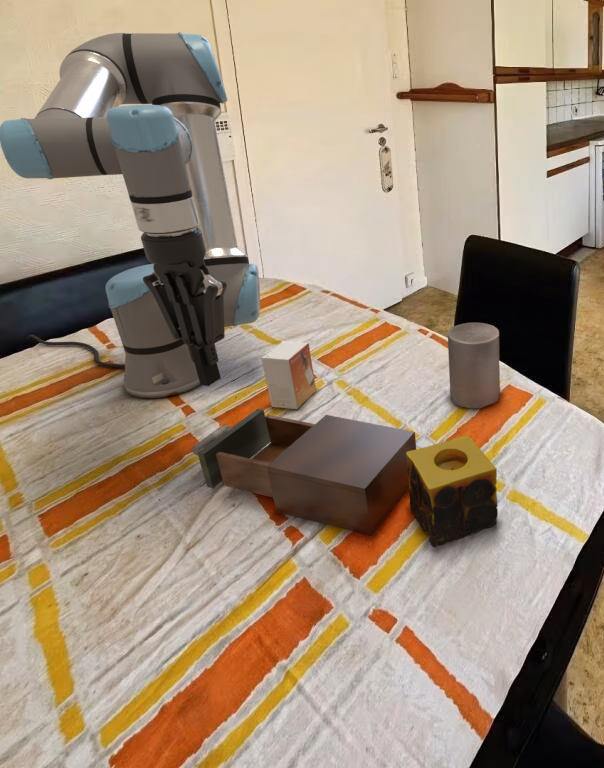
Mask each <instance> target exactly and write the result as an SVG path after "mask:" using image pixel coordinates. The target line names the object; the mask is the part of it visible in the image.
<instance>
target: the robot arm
mask: <svg viewBox="0 0 604 768" xmlns="http://www.w3.org/2000/svg"><path fill="white" fill-rule="evenodd" d="M225 88H226V87H225V85H224V82H223V78H222V76H221V72H220V69H219V66H218V63H217V60H216V56H215V55H214V51H213V48H212V46H211V44H210V42H209V40H208V39H207V38H206V37H205V36H203V35H201V34H198V33H197V34H195V33H182V32H176V33H170V32H169V33H162V32H161V33H159V32H158V33H156V32H155V33H154V32H153V33H152V32H151V33H150V32H149V33H145V32H143V33H141V32H139V33H137V32H136V33H134V32H133V33H125V32H113V33H108V34H103V35H99V36H97V37H95V38H92V39H90V40H88V41H85V42H83V43H81V44H80V45H78V46H77V47H75V48H74V49H72V50H71V51H70V52H69V53H68V54H67V55H66V56H65V57H64V58H63V60H62V62H61V64H60V66H59V81H57V84H56V86H54V88H53V90H52V92H51V93H50V94H49V96H48V97H47V98H46V100H45V102H44V103H43V105H42V106H41V108H40V109H39V111H38V112H37V114H36V115H35V117H34V118H26V117H21V118H17V119H7V120H4V121H3V122H1V124H0V147H1V151H2V153H3V155H4V159H5V160H6V162H7V164H8V166H9V167H10V169H11V170H12V171H13V173H15V174H16V175H17V176H19V177H21V178H24V179H47V180H54V179H65V178H66V179H68V178H82V177H96V176H115V175H117V176H118V175H122V177H123V180H124V184H125V187H126V190H127V193H128V197H129V201H130V203H131V208H132V212H133V214H134V215H133V216H134V218H135V222H136V227H137V229H138V230H139V232H142V234H141V236H140V241H141V244H142V247H143V250H144V254H145V257H146V260H147V261H148V262H149V263H150V264H143V265H139V266H136V267H132V268H128V269H126V270H124V271H122V272H119V273H117V274H115V275H114V276H112V277H110V279H109V280H108V281H107V282H106V284H105V293H106V297H107V300H108V301H107V302H108V304H107V305H108V308H109V309H110V311H111V314H112V317H113V321H114V324H115V326H116V330H117V332H118V335H119V338H120V341H121V344H122V348H123V350H124V363H109V362H103V361H101V360H99V356H100V355H99V351H98V349H96V348H95V347H93V346H92V345H90V344H88V343H85V342H81V341H47V340H44V339H42V338H40V337H38V336H36V335H35V334H29V335H28V336H27V337H26V341H31V340H35V341H36V342H38V343H40V344H42V345H45V346H79V347H84V348H86V349H88V350H90V351H92V352H93V361H94V362H95V363H96V364H97V365H99V366H102V367H107V368H113V369H114V368H115V369H124V375H123V382H124V387H125V390H126V392H127V393H128V394H129V395H131V396H132V397H136V398H140V399H160V398H161V399H162V398H168V397H172V396H177V395H180V394H183V393H186V392H188V391H191V390H193V389H195V388H197V387H199V386H205V387H209V386H211V385H213V384H214V383H216V382H217V381H219V380H221V379H222V377H221V374H220V370H219V365H218V362H219V356H218V352H217V348H216V344H217V343H218V342H220V341H222V340H224V339H225V337H226V336H225V331H226V330H225V328H227V327H228V328H229V327H238V326H243V325H249V324H253V323H255V322H257V321H258V319H259V318H260V314H261V285H260V275H259V268H258V265H257V264H254V263H250V260H249V255H248V254H246V253H245V252H244V251H242V250H241V249H240V248H239V246H238V240H237V235H236V229H235V225H234V224H235V223H234V219H233V213H232V208H231V202H230V197H229V196H230V195H229V191H228V186H227V181H226V176H225V175H226V174H225V170H224V169H225V168H224V164H223V159H222V154H221V153H222V152H221V149H220V142H219V138H218V132H217V127H216V121H217V120H218V118H219V117H221V115H222V106H221V104H224V103H227V102H228V100H229V99H228V95H227V93H226V89H225Z"/></svg>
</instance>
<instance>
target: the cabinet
mask: <svg viewBox="0 0 604 768" xmlns="http://www.w3.org/2000/svg"><path fill="white" fill-rule="evenodd" d="M314 424H315V425H314V426H312V427H311V428H310V429H309V430H308V431H307V432H306V433H304V434H303V435H302V436H301V437H300V438H299V439H297V440H296V441H295V442H294V443H293V444H292V445H290V446H289V447H288V448H287V449H286V450H285V451H283V452H282V453H281V454H280V455H279V456H278V457H277V458H275V459H274V460H273V461H272V462H271V463H270V464H268V465H267V466H266V468H267V471H268V476H269V480H270V485H271V489H272V493H273V497H272V499H273V501H274V502H273V503H274V507H275V511H276V513H277V514H282V515H286V516H290V517H293V518H297V519H302V520H306V521H309V522H313V523H318V524H321V525H325V526H329V527H333V528H337V529H342V530H344V531H346V530H347V531H350V532H353V533H357V534H361V535H366V536H368V537H369V536H370V537H372V536H373V535H374V534H375V533H376V531H377V530H378V529H379V528H380V526H381V525H382V523H384V521H385V520H386V518H387V517H388V516H389V514H390V513H391V512H392V510H394V508H395V507H396V506H397V504H398V503H399V502H400V500H401V499H402V498H403V496H405V494H406V493H407V492H408V489H409V477H408V464H407V456H406V452H408V451H412V450H416V449H417V441H416V440H417V439H416V432H415V431H412V430H408V429H402V428H398V427H392V426H387V425H382V424H381V425H380V424H376V423H371V422H366V421H360V420H355V419H351V418H346V417H345V418H344V417H340V416H336V415H330V414H325V415H324V416H323V417H322V418H320V419H319V420H318V421H317V422H316V423H314Z"/></svg>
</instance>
